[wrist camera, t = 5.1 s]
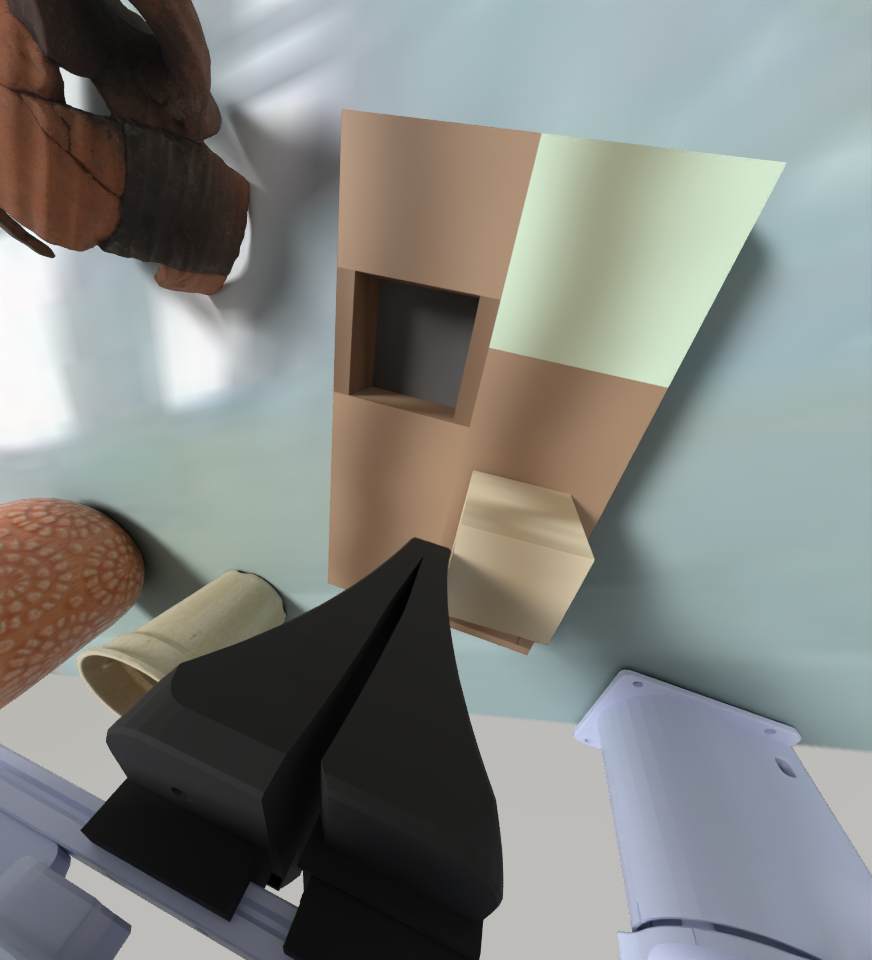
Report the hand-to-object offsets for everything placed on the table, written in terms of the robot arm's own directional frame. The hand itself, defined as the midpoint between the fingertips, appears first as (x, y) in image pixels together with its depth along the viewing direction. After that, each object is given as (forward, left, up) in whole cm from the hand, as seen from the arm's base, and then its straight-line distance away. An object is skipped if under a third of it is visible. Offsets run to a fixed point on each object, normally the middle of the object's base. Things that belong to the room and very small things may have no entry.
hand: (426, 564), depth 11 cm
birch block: (-2, 0, -4) cm, 5 cm away
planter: (+29, +16, -7) cm, 34 cm away
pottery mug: (+16, -11, -7) cm, 20 cm away
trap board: (0, -2, -7) cm, 7 cm away
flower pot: (+14, +16, -7) cm, 22 cm away
